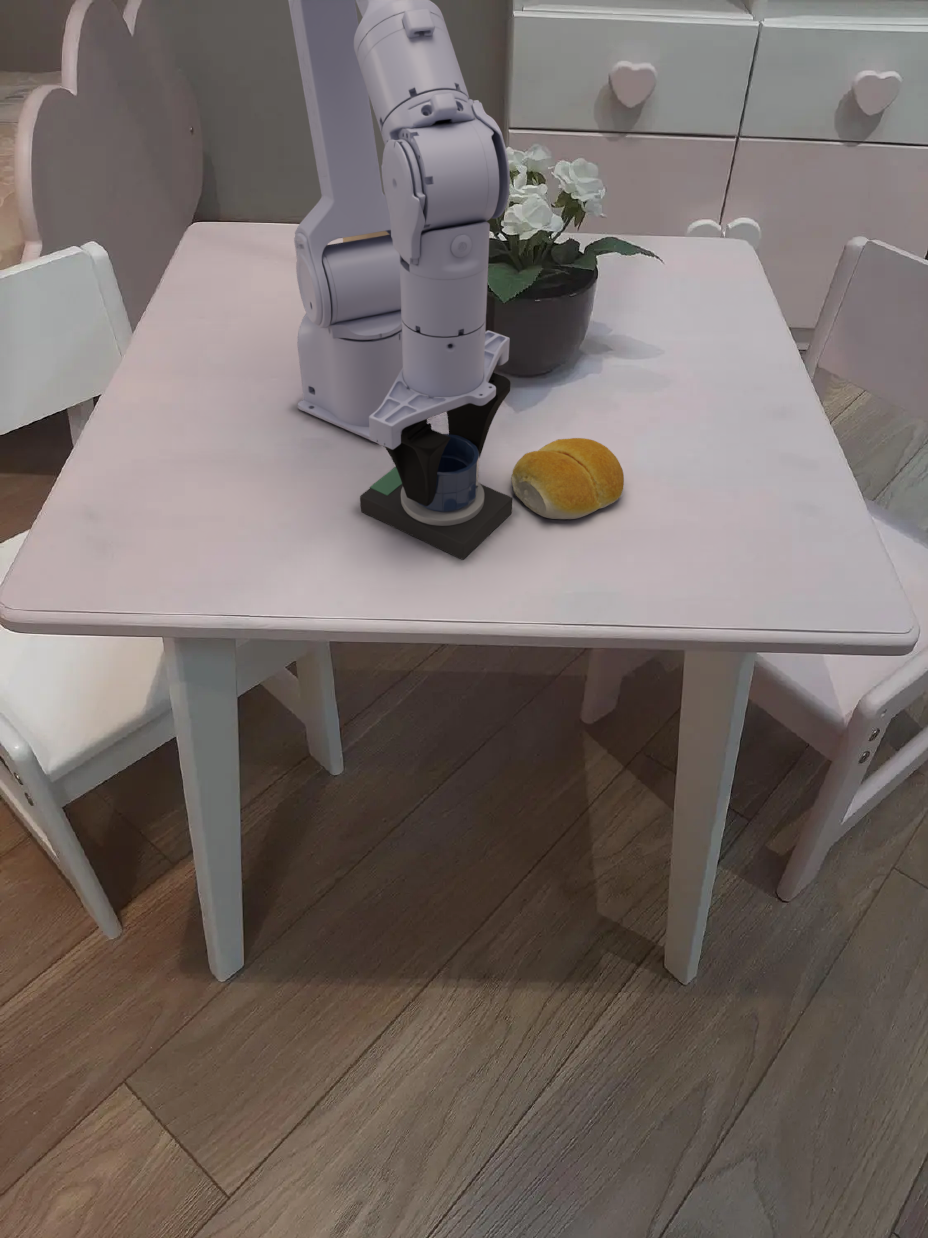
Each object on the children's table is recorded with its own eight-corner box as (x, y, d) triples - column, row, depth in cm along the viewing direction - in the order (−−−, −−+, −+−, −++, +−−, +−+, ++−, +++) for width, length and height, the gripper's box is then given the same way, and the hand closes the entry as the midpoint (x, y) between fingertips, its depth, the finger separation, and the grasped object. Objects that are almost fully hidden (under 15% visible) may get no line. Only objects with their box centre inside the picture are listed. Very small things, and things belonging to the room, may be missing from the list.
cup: (396, 498, 73) (394, 458, 70) (435, 465, 76) (435, 425, 74) (451, 523, 71) (452, 483, 68) (490, 489, 74) (492, 449, 72)
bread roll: (640, 495, 78) (648, 455, 75) (558, 536, 74) (563, 495, 71) (574, 447, 82) (579, 408, 79) (493, 483, 78) (496, 443, 75)
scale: (360, 511, 75) (359, 489, 74) (412, 469, 79) (412, 447, 78) (462, 560, 72) (463, 538, 70) (511, 513, 76) (513, 491, 74)
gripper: (428, 381, 57) (429, 549, 67) (549, 292, 66) (535, 452, 75) (339, 346, 60) (352, 512, 70) (466, 265, 69) (463, 423, 78)
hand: (442, 479), depth 73 cm, fingers open, 5 cm apart
